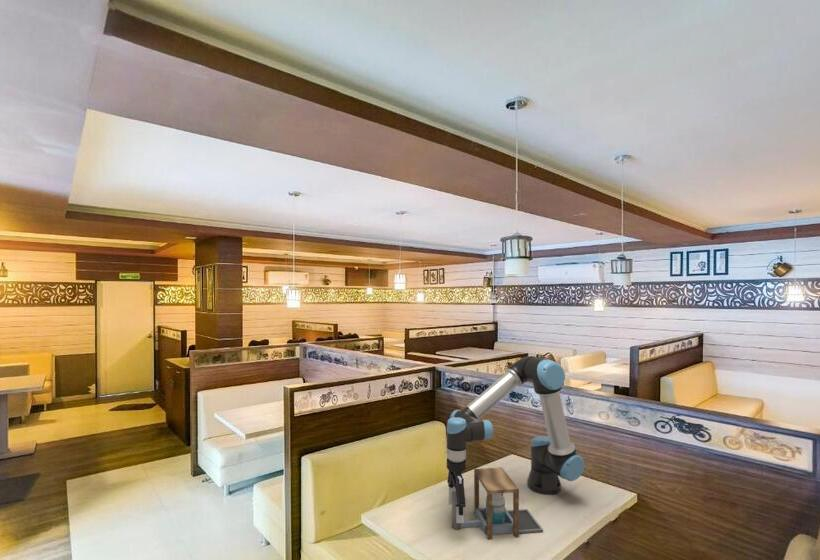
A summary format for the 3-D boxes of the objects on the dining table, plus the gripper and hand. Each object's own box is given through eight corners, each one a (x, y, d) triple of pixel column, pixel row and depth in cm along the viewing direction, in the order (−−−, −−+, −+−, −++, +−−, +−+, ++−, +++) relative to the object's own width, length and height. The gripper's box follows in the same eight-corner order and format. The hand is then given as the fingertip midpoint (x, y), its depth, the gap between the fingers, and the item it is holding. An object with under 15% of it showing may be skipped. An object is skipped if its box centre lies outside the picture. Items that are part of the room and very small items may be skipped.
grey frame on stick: (504, 513, 174) (504, 482, 174) (516, 532, 161) (516, 498, 161) (448, 517, 171) (448, 485, 171) (455, 537, 158) (455, 502, 158)
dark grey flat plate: (527, 511, 176) (527, 509, 176) (543, 532, 161) (543, 529, 161) (504, 513, 175) (504, 510, 175) (518, 534, 160) (518, 531, 160)
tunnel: (501, 510, 177) (501, 467, 177) (518, 537, 158) (518, 488, 158) (474, 512, 175) (474, 469, 176) (488, 539, 157) (488, 490, 157)
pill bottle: (483, 519, 170) (483, 486, 170) (501, 518, 171) (501, 485, 171) (488, 530, 163) (488, 495, 163) (507, 529, 163) (507, 494, 164)
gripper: (440, 446, 177) (440, 497, 177) (454, 473, 152) (453, 531, 152) (457, 446, 178) (457, 496, 178) (474, 472, 153) (474, 530, 153)
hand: (455, 512), depth 165 cm, fingers open, 13 cm apart
